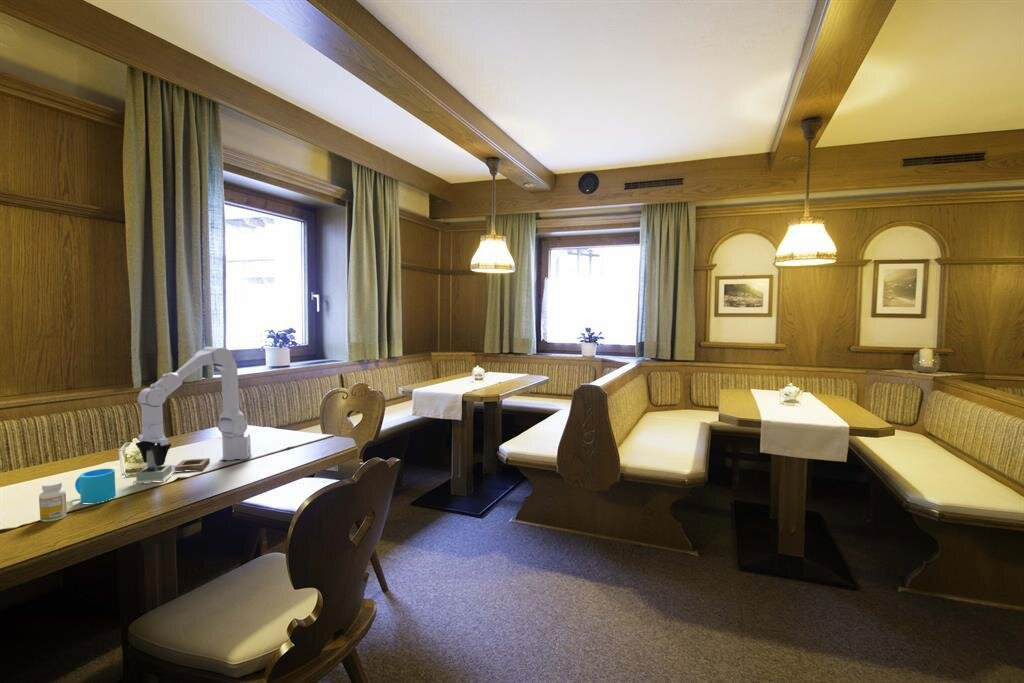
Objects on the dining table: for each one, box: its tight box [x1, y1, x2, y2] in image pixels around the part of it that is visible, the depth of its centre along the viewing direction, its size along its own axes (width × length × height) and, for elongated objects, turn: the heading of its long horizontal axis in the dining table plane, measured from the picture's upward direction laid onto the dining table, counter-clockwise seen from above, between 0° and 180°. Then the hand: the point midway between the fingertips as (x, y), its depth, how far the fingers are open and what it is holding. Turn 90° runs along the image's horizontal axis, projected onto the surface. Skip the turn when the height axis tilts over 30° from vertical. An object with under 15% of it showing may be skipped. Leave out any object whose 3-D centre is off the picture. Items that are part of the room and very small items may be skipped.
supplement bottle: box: [38, 480, 68, 523], centre depth 137 cm, size 5×5×10 cm
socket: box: [174, 457, 211, 471], centre depth 182 cm, size 9×9×2 cm
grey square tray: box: [132, 464, 176, 485], centre depth 170 cm, size 9×9×3 cm
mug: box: [74, 468, 117, 504], centre depth 151 cm, size 12×8×8 cm
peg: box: [146, 449, 163, 472], centre depth 169 cm, size 4×4×9 cm
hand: (154, 463), depth 169 cm, fingers open, 7 cm apart
